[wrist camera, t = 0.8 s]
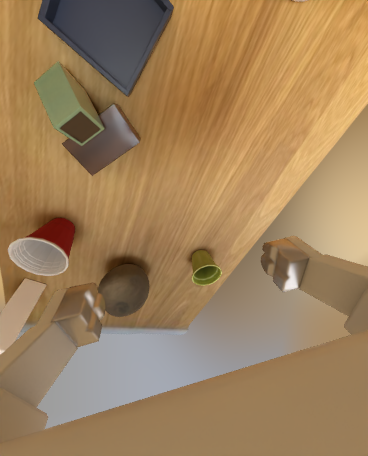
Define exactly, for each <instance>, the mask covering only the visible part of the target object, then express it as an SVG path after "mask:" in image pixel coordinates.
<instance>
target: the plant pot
mask: <svg viewBox="0 0 368 456" xmlns="http://www.w3.org/2000/svg"><path fill="white" fill-rule="evenodd" d="M192 266H193V275H192V281H193V282H194V283H195V284H197V285H202V286H204V285H209V284H212V283H214V282H216V281H217V280H218V279H219V278H220V276H221V274H222V270H221V268H220V267H218V266H217V265H216V264H215V262H214V261H213V259H212V258H211V256H210V255H209V253H208V252H207V251H205V250H198V251H196V252H195V253H194V254H193V255H192Z"/></svg>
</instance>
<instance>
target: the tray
mask: <svg viewBox="0 0 368 456" xmlns="http://www.w3.org/2000/svg"><path fill="white" fill-rule="evenodd" d="M173 8H174V7H173V5H172V4H171V3H170V1H169V0H42V4H41V7H40V11H39V15H38V19H39V20H40V21H41V22H42V23H44V24H45V25H46V26H47V27H48V28H49V29H50V30H52V31H53V32H54V33H55V34H56V35H57V36H58V37H60V38H61V39H62V40H63V41H64V42H65V43H67V44H68V45H69V46H70V47H71V48H72V49H73V50H75V51H76V52H77V53H78V54H79V55H80V56H81V57H83V58H84V59H85V60H86V61H87V62H88V63H90V64H91V65H92V66H93V67H94V68H95V69H96V70H98V71H99V72H100V73H101V74H102V75H103V76H104V77H106V78H107V79H108V80H109V81H110V82H111V83H113V84H114V85H115V86H116V87H117V88H118V89H119V90H121V91H122V92H123V93H124V94H125V95H126V96H128V97H129V96H130V94H131V92H132V90H133V88H134V86H135V84H136V82H137V80H138V79H139V77H140V75H141V73H142V71H143V69H144V67H145V65H146V63H147V62H148V60H149V58H150V56H151V54H152V52H153V50H154V48H155V46H156V44H157V43H158V41H159V39H160V37H161V35H162V33H163V31H164V29H165V27H166V25H167V24H168V22H169V20H170V18H171V16H172V12H173Z"/></svg>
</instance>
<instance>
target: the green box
mask: <svg viewBox="0 0 368 456" xmlns="http://www.w3.org/2000/svg"><path fill="white" fill-rule="evenodd" d="M34 85H35V87H36V89H37V91H38V94H39V96H40V98H41V100H42V103H43V105H44V107H45V109H46V112H47V114H48V116H49V118H50V121H51V123H52V125H53V127H54V128H55V129H56V130H58V131H59V132H61V133H62V134H64V135H65V136H67V137H69V138H70V139H72V140H73V141H75V142H76V143H78V144H79V145H81V146H83V145H84V144H85V143H87V142H88V141H89V140H91V139H92V138H93V137H95V136H96V135H97V134H99V133H100V132H101V131H103V130H104V129H105V128H104V126H103V124H102V122H101V120H100V118H99V116H98V114H97V112H96V110H95V108H94V106H93V104H92V102H91V100H90V98H89V97H88V95H87V93H86V91H85V89H84V88H83V87H82V86H81V85H80V84H79V83H78V82H77V81H76V79H75V78H74V77H73V76H72V75H71V74H70V73H69V72H68V71H67V70H66V69H65V68H64V67H63V66H62V64H61V63H60V62H59V61H58V62H57V63H55V64H54V65H53V66H52V67H51V68H50V69H49V70H47V71H46V72H45V73H44V74H43V75H42V76H41V77H40V78H38V79H37V80H36V81H35V82H34Z"/></svg>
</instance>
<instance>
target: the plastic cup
mask: <svg viewBox="0 0 368 456" xmlns="http://www.w3.org/2000/svg"><path fill="white" fill-rule="evenodd" d="M74 234H75V226H74V225H73V223H72V222H70V221H69V220H67V219H65V218H55V219H53V220H51V221H50V222H48V223H47V224H45V225H44V226H42V227H41V228H39V229H38V230H36V231H35V232H33V233H32V234H30V235H29V236H26V237H25V238H20V239H17V240H16V241H14V242H13V243H11V244H10V246H9V249H8V253H9V256H10V259H11V260H12V261H13V262H14V263H15V264H16V265H17V266H19V267H20V268H22V269H24V270H26V271H28V272H31V273H34V274H37V275H44V276H52V275H59V274H60V273H62V272H64V271H65V270H66V269H67V267H68V266H69V260H68V259H69V255H70V250H71V246H72V243H73V239H74Z"/></svg>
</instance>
